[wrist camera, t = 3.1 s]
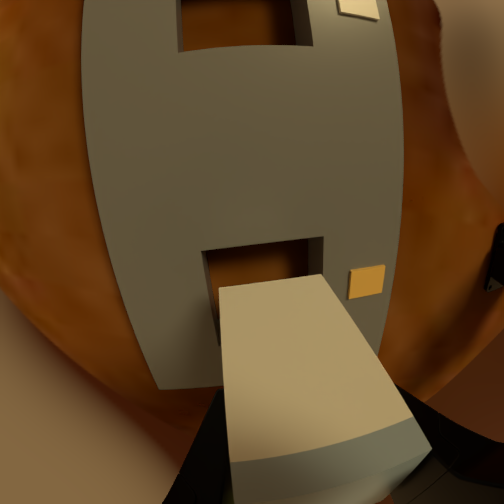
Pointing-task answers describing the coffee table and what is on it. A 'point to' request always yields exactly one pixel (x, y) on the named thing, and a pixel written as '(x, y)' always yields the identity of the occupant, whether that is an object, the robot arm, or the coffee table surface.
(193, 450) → the robot arm
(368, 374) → the plug
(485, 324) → the coffee table surface
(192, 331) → the panel board
